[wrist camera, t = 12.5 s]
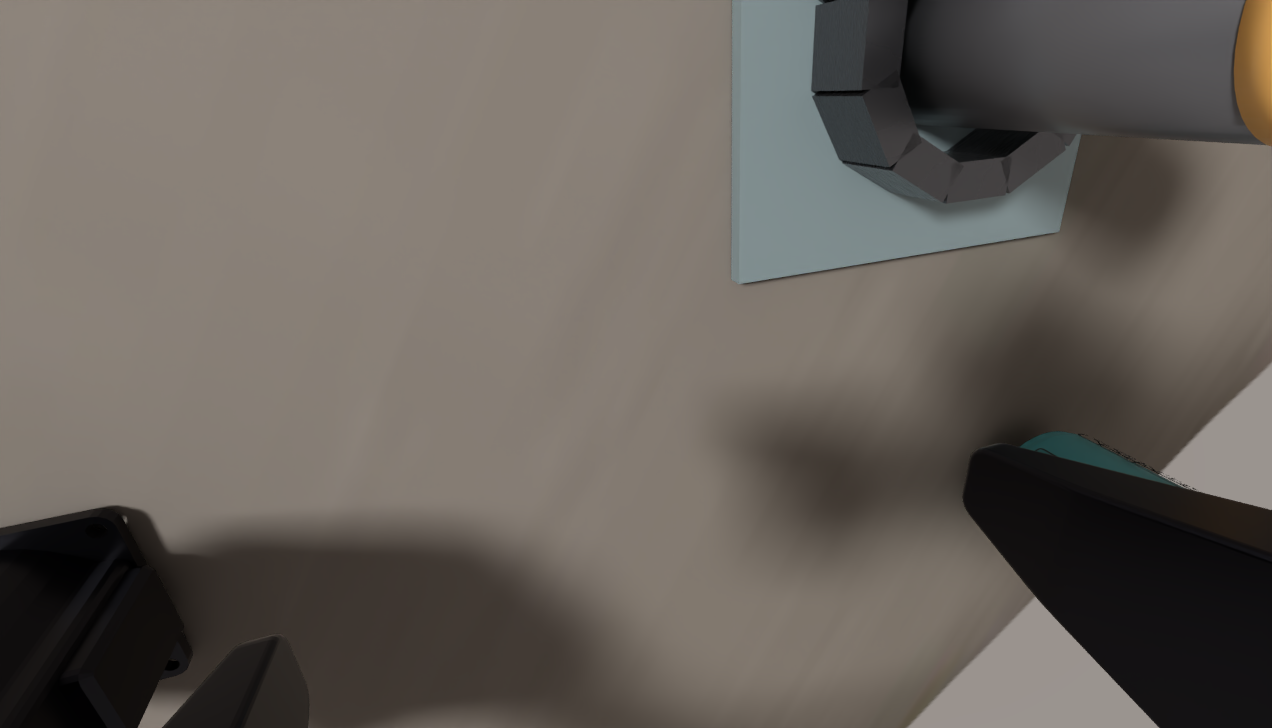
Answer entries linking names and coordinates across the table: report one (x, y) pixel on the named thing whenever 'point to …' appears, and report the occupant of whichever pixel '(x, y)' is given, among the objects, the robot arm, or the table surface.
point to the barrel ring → (905, 114)
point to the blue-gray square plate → (841, 170)
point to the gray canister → (1093, 67)
